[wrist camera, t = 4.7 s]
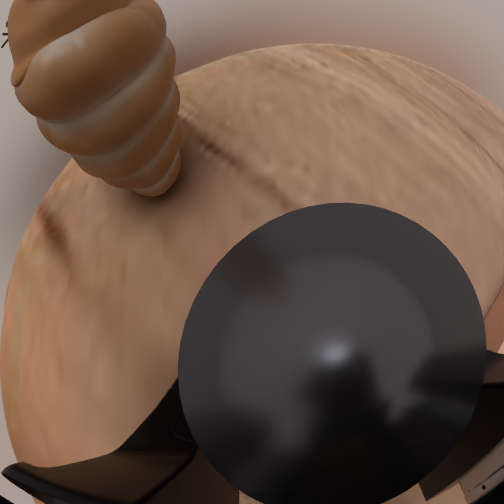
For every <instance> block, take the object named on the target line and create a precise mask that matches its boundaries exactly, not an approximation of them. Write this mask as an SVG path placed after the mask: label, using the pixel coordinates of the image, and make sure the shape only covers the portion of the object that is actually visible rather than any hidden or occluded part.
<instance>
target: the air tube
mask: <svg viewBox="0 0 504 504" xmlns="http://www.w3.org/2000/svg"><path fill="white" fill-rule="evenodd" d="M485 366H486V333H485V324H484V320H483V315H482V311H481V307H480V304H479V301H478V298H477V295H476V292H475V290H474V288H473V286H472V283H471V281H470V279H469V277H468V275H467V274H466V272H465V271H464V269H463V267H462V266H461V264H460V263H459V261H458V260H457V259H456V257H455V256H454V255H453V254H452V253H451V252H450V250H449V249H448V248H447V247H446V246H445V245H444V244H443V243H442V242H441V241H440V240H439V239H438V238H436V237H435V236H434V235H433V234H432V233H431V232H429V231H428V230H426V229H425V228H423V227H422V226H421V225H419V224H418V223H416V222H414V221H412V220H410V219H408V218H406V217H404V216H402V215H400V214H397V213H395V212H392V211H389V210H387V209H383V208H379V207H375V206H370V205H365V204H355V203H328V204H322V205H316V206H310V207H306V208H302V209H299V210H296V211H292V212H289V213H287V214H284V215H282V216H280V217H278V218H276V219H273V220H271V221H269V222H267V223H266V224H264V225H262V226H261V227H259V228H258V229H256V230H254V231H253V232H251V233H250V234H249V235H247V236H246V237H245V238H244V239H242V240H241V241H240V242H239V243H237V244H236V245H235V246H234V247H233V248H232V249H231V250H230V251H229V252H228V253H227V254H226V255H225V256H224V257H223V258H222V259H221V260H220V261H219V262H218V264H217V265H216V266H215V268H214V269H213V270H212V272H211V273H210V274H209V276H208V277H207V279H206V280H205V282H204V283H203V285H202V287H201V289H200V290H199V292H198V294H197V296H196V298H195V300H194V302H193V304H192V307H191V309H190V312H189V314H188V317H187V320H186V322H185V326H184V330H183V334H182V339H181V343H180V351H179V361H178V380H179V392H180V397H181V403H182V407H183V412H184V415H185V418H186V421H187V423H188V426H189V429H190V431H191V434H192V436H193V437H194V439H195V441H196V443H197V445H198V447H199V448H200V450H201V452H202V453H203V454H204V456H205V457H206V458H207V460H208V461H209V462H210V464H211V465H212V466H213V467H214V469H215V470H216V471H217V472H218V473H219V474H220V475H222V476H223V477H224V478H225V479H226V480H227V481H228V482H229V483H230V484H232V485H233V486H234V487H236V488H237V489H239V490H240V491H242V492H243V493H244V494H246V495H247V496H249V497H251V498H253V499H255V500H257V501H259V502H262V503H264V504H381V503H383V502H386V501H388V500H390V499H392V498H394V497H396V496H398V495H400V494H401V493H403V492H405V491H407V490H408V489H410V488H411V487H413V486H414V485H415V484H417V483H418V482H420V481H421V480H422V479H424V478H425V477H426V476H427V475H428V474H429V473H430V472H432V471H433V470H434V469H435V468H436V467H437V466H438V465H439V464H440V463H441V462H442V461H443V459H444V458H445V457H446V456H447V455H448V454H449V453H450V451H451V450H452V449H453V447H454V446H455V444H456V443H457V442H458V440H459V439H460V437H461V436H462V434H463V432H464V430H465V429H466V427H467V425H468V423H469V421H470V419H471V417H472V415H473V412H474V410H475V407H476V405H477V402H478V399H479V396H480V392H481V388H482V384H483V380H484V373H485Z"/></svg>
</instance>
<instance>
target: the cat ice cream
mask: <svg viewBox="0 0 504 504" xmlns="http://www.w3.org/2000/svg"><path fill="white" fill-rule="evenodd" d="M6 27H8V33H3V35H8V39H7V40H6V41H5V43H4V44H3V45H2V47H1V48H3V46H4V45H5V44H6V43H7V41H9V46H10V50H11V54H12V58H13V62H14V68H13V72H12V75H11V84H12V85H13V86H14V87H15V94H16V96H17V99H18V100H19V102H20V103H21V104H22V106H23V107H24V108H25V109H26V110H27V111H28V112H29V113H31V114H32V115H33V116H35V117H36V119H37V124H38V127H39V129H40V131H41V133H42V134H43V136H44V137H45V138H46V139H47V140H48V141H49V142H50V143H51V144H52V145H54V146H55V147H57V148H58V149H61V150H63V151H65V152H67V153H70V154H71V155H72V157H73V158H74V159H75V161H76V162H77V164H78V165H79V166H80V167H81V169H82V170H83V171H85V172H86V173H88V174H90V175H92V176H94V177H98V178H102V179H103V180H104V181H105V182H106V183H108V184H110V185H113V186H115V187H118V188H123V189H131V190H132V191H134V192H136V193H138V194H140V195H144V196H153V197H155V196H159V195H161V194H163V193H165V192H166V191H167V190H168V189H169V188H170V187H171V185H172V184H173V183H174V181H175V180H176V178H177V176H178V173H179V170H180V166H181V153H180V150H179V143H180V138H181V126H180V121H179V118H178V115H177V114H178V110H179V105H180V93H179V89H178V87H177V84H176V82H175V80H174V78H173V76H174V69H175V62H176V54H175V49H174V47H173V44H172V43H171V41H170V40H169V38H168V37H167V36H166V21H165V18H164V15H163V13H162V10H161V8H160V7H159V5H158V4H157V3H156V2H155V1H154V0H14V1H13V3H12V6H11V8H10V12H9V16H8V21H7V22H6Z"/></svg>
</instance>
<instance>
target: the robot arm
mask: <svg viewBox="0 0 504 504" xmlns="http://www.w3.org/2000/svg"><path fill="white" fill-rule="evenodd" d="M1 473H2V475H3V476H4V477H5V478H7V479H8V480H9V481H10V482H12V483H13V484H15V485H16V486H18V487H19V488H21V489H22V490H24V491H25V492H27V493H28V494H30V495H32V496H33V497H35V498H37V499H38V500H40V501H42V502H44V503H45V504H239V489H237V488H236V487H234V486H233V485H232V484H230V483H229V482H228V481H227V480H226V479H225V478H224V477H223V476H222V475H220V474H219V473H218V472H217V471H216V470H215V469H214V467H213V466H212V465H211V464H210V462H209V461H208V460H207V458H206V457H205V456H204V454H203V453H202V452H201V450H200V448H199V447H198V445H197V443H196V441H195V439H194V437H193V436H192V434H191V431H190V429H189V426H188V423H187V421H186V418H185V415H184V412H183V407H182V403H181V397H180V392H179V380H178V378H177V379H176V380H175V382H174V383H173V385H172V388H170V389H169V390H168V392H167V393H166V395H165V396H164V397H163V399H162V400H161V401H160V403H159V404H158V405H157V407H156V408H155V409H154V410H153V411H152V412H151V414H150V415H149V416H148V417H147V418H146V419H145V421H144V422H143V423H142V424H141V425H140V426H139V427H138V428H137V429H136V430H135V431H134V433H133V434H132V435H131V436H130V437H129V438H128V439H127V440H126V441H125V442H124V443H123V444H122V445H121V446H120V447H119V448H118V449H116V450H115V451H113V452H111V453H109V454H107V455H104V456H100V457H96V458H93V459H89V460H85V461H81V462H76V463H72V464H67V465H63V466H57V467H48V468H43V467H36V466H33V465H31V464H28V463H25V462H19V463H15V464H12V465H9V466H8V467H6V468H5V469H4V470H3V471H2V472H1ZM418 483H419V485H420V488H421V490H422V493H423V495H424V498H425V500H426V501H428V500H430V499H432V498H434V497H435V496H437V495H439V494H441V493H443V492H444V491H446V490H448V489H449V488H451V487H453V486H454V485H456V484H458V483H459V484H460V486H461V489H462V491H463V493H464V495H465V496H464V497H465V500H466V502H467V504H504V354H500V353H496V352H493V351H491V350H488V349H486V366H485V373H484V380H483V384H482V388H481V392H480V396H479V399H478V402H477V405H476V407H475V410H474V412H473V415H472V417H471V419H470V421H469V423H468V425H467V427H466V429H465V430H464V432H463V434H462V436H461V437H460V439H459V440H458V442H457V443H456V444H455V446H454V447H453V449H452V450H451V451H450V453H449V454H448V455H447V456H446V457H445V458H444V459H443V461H442V462H441V463H440V464H439V465H438V466H437V467H436V468H435V469H434V470H433V471H432V472H430V473H429V474H428V475H427V476H426V477H425V478H424V479H422V480H421V481H420V482H418ZM0 504H14V503H12V502H10V501H9V500H7V499H5V498H4V497H2V496H1V495H0Z"/></svg>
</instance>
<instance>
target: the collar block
mask: <svg viewBox="0 0 504 504" xmlns="http://www.w3.org/2000/svg"><path fill="white" fill-rule="evenodd" d="M484 324H485V333H486V349H488V350H491V351H493V352H496V353H500V354H504V285H503V287H502V289H501V291H500V293H499V295H498V297H497V298H496V300H495V302H494V304H493V306H492V307H491V309H490V311H489V312H488V314H487V316H486V317H485V319H484Z"/></svg>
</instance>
